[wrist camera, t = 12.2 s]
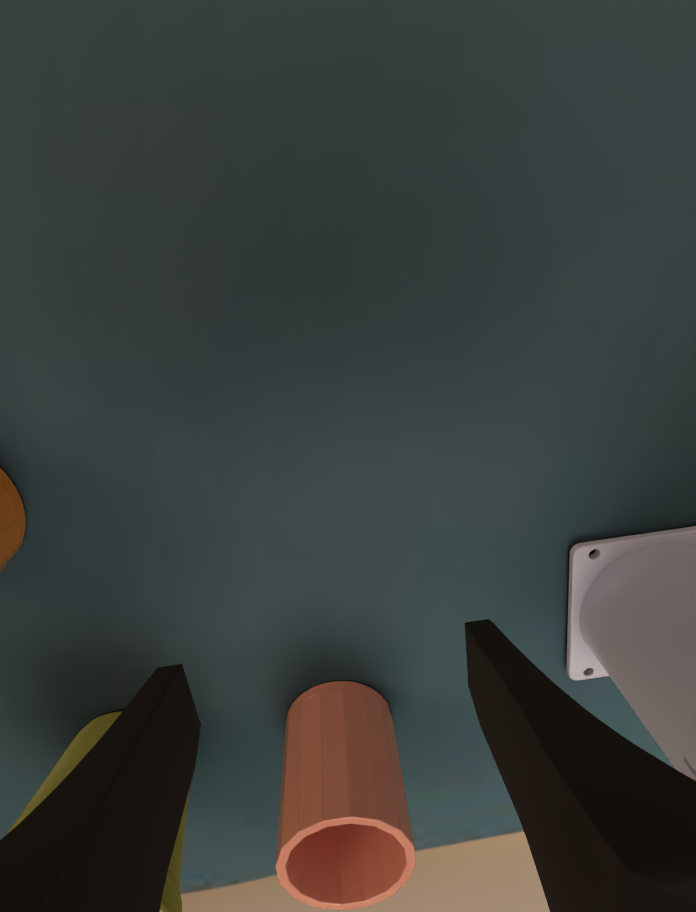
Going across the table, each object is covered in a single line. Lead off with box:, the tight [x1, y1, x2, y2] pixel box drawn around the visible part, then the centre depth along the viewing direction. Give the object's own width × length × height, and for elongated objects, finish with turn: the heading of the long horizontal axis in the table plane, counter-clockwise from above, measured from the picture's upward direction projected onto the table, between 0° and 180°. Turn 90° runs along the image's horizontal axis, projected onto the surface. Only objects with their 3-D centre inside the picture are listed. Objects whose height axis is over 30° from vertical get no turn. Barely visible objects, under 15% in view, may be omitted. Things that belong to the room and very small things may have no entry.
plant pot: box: [6, 711, 189, 912], centre depth 23 cm, size 9×9×9 cm
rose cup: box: [276, 681, 416, 910], centre depth 24 cm, size 6×6×7 cm
